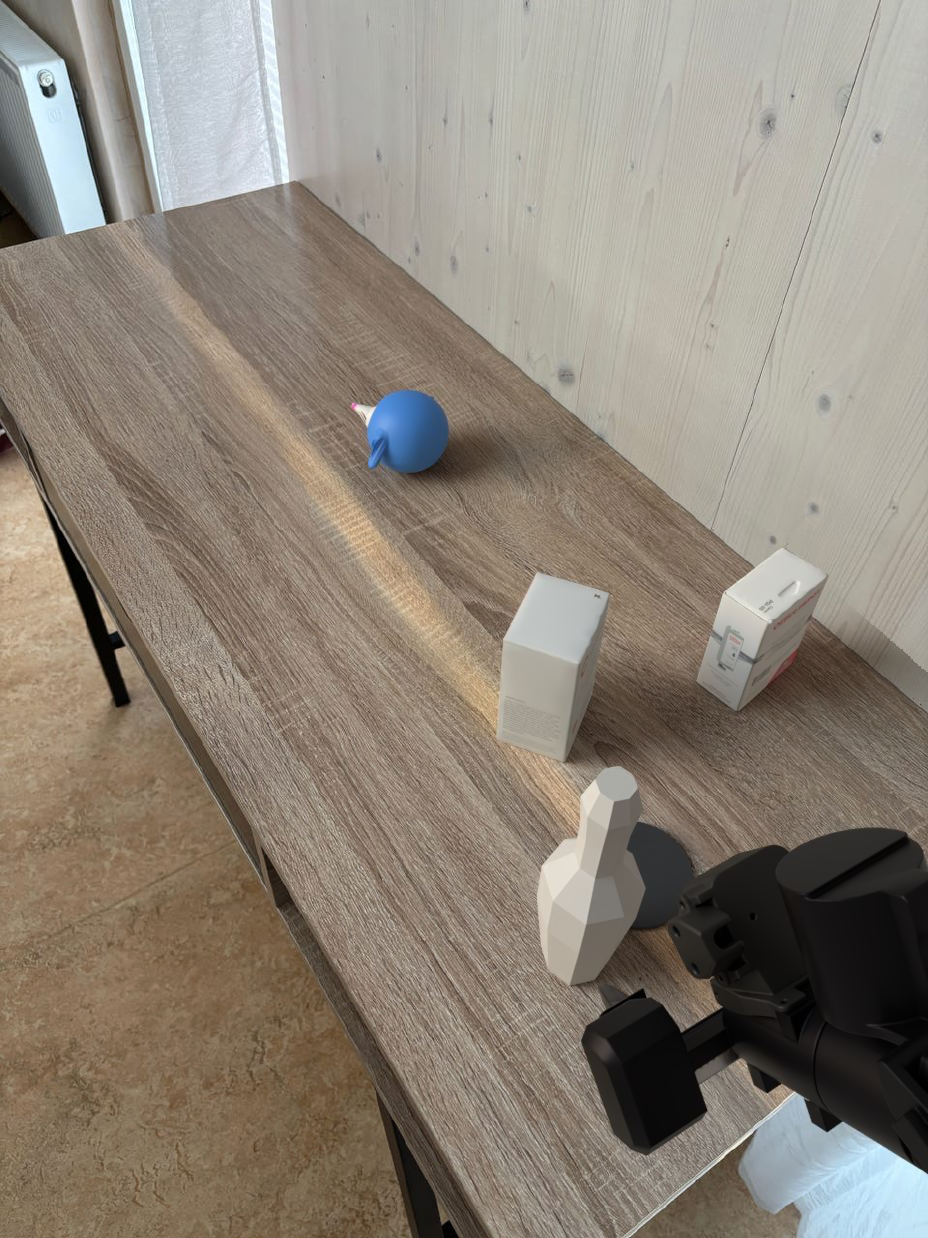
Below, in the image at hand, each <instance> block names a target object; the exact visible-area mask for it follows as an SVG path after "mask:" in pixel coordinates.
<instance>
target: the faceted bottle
mask: <svg viewBox="0 0 928 1238" xmlns="http://www.w3.org/2000/svg"><path fill="white" fill-rule="evenodd" d="M641 797H642V796H641V794H640V789H639V786H638V784H637V780H636V779H635V776H634V774H633V773H631V772H630V771H628V770H627V769H625V768H623V767H622V766H620V765H617V766H611V767H605V768H603V769H602V770H601V771H600V772H599V774H598V775H597V776H596V777H595V778H594V780H593V781H592V782H591V783H590V785H589V786H588V787H587V788H586V789H585V790H584V791H583V793H582V794H581V795H580V798H579V799H580V800H579V802H580V803H579V826H578V830H577V836H574V837H569V838H565V839H563V840H562V841H561V843H560V844H559V845H558V846H557V847H556V848H555V849H554V851H552V853H551V854H550V856H549V857H548V858H547V859H546V860H545V861H544V863H543V864H542V865H541V869H540V875H539V881H538V887H537V893H536V902H537V914H538V915H537V916H538V926H539V937H540V947H541V951H542V955H543V957H544V960H545V964H546V967H547V970H548V972H550V973H552V974H553V975H554V976H556V977H557V978H558V979H559V980H561V981H562V982H563V983H565V984H566V985H567V986H568V987H571V986H576V985H580V984H584V983H588V982H589V983H590V982H594V981H595V980H596V979H597V977H598V976H599V975H600V974H601V972H602V971H603V969H604V968H605V966H606V965H607V964H608V963H609V961H610V960H611V958H612V956H613V955H614V953H615V951H616V950H617V948H618V947H619V945H620V944H621V943H622V941H623V939H624V938H625V936H626V934H627V933H628V931H629V930H630V929H629V928H630V927H631V925H632V924H633V922H634V920H635V919H636V916H637V913H638V910H639V907H640V904H641V901H642V898H643V895H644V892H645V889H646V888H645V885H644V883H643V880H642V877H641V875H640V872H639V869H638V867H637V864H636V862H635V859H634V856H633V854H632V853H630V852H629V851H628V850H627V846H628V842H629V839H630V836H631V834H632V832H633V830H634V828H635V825H636V823H637V821H638V822H639V820H640V817H641V815H642V813H643V811H644V805H643V801H642V798H641Z"/></svg>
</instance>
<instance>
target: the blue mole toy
mask: <svg viewBox="0 0 928 1238" xmlns="http://www.w3.org/2000/svg"><path fill="white" fill-rule="evenodd" d="M350 407H351V410H352V411H354V412H356V413H357V414H358V416H359V417H360V418H361V420H362V422H363V424H365V427H366V437H367V441H368V446H369V448H370V455H369V458H368V462H367V466H368V469H370V470H374V469H376V468H377V467H378V466H379V464H380V463H381V464H382V465H383V466H385V467H386V468H388V469H389V470H391V471H394V472H398V473H403V474H414V473H415V474H416V473H420V472H422V471H425V470H428V469H429V468H431V467H432V466H433V465H435V464H436V463H437V462H438V461H439V460H440V458H441V457H442V455H443V454H444V452H445V451H446V448H447V445H448V441H449V438H450V437H449V436H450V425H449V421H448V417H447V414H446V412H445V411H444V409H443V407H442V406H441V405H440V404H439V403H438V401H436V400H435V398H434V396H432V395H429V394H427V393H425V392H422V391H419V390H415V389H402V390H396V391H394V392H393V391H392V392H390V393H389V394H387V395H385V396H384V397H383V398H381V399H380V400H379V402H378V403H377V405H375V406H370V405H366V404H361V403H359V402H357V401H356V402H352V403H351V405H350Z"/></svg>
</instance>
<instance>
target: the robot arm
mask: <svg viewBox="0 0 928 1238" xmlns="http://www.w3.org/2000/svg"><path fill="white" fill-rule="evenodd" d="M693 877H694V878H692V879H691V880H689V881H688V882H687V884H686V885H685V887H684V890H683V893H681V894H680V895H678V896H676V902H677V905H678V907H679V913H678V915H677V916H676V917H674V918H672V919H670V920H669V921H668V923H667V924H666V927H667V929H666V930H667V933H668V935H669V937H670V940H671V941H672V943H673V945H674V947H675V949H676V951H677V953H678V955H679V957H680V959H681V960H682V963H683V965H684V967H685V969H686V970H687V972H688V974H690V975H691V976H692V977H693V978H695V979H697V980H709V984H710V988H711V990H712V993H713V996H714V999H715V1002H716V1004H718V1005H719V1006H720V1007H719V1008H718V1009H716V1010H715V1011H713V1012H712V1013H710V1014H708V1015H707V1016H705V1017H704V1018H702V1019H701V1020H699V1021H697V1022H696V1023H694V1024H692V1025H690V1026H689V1027H687V1028H686V1029H684V1030H683V1031H682V1030H681V1028H680V1027H679V1025H678V1024H677V1022H676V1021H675V1020H674V1018H673V1017H672V1015H671V1014H670V1013H669V1011H668V1010H667V1008H666V1006H665V1005H664V1004H663V1003H661V1002H659V1001H658V1000H657V999H655V998H653V997H648V996H647V993H646V991H645V988H643V987H642V988H639V989H638V990H636V991H634V992H632V993H631V994H629V995H628V994H627V993H626V992H624V991H622V989H619V988H618V987H617V986H615V985H614V984H613V985H612V984H610V983H607V982H601V983H599V984H597V990H598V993H599V995H600V997H601V1001H602V1003H603V1006H604V1007H605V1009H604V1010H603V1011H602V1012H601V1013H600V1014H599V1016H598V1018H596V1019H595V1020H593V1021H592V1022H591V1021H590V1022H589V1023H588V1024H587V1025H585V1029H584V1031H583V1034H582V1037H581V1040H580V1044H581V1047H582V1049H583V1052H584V1055H585V1057H586V1061H587V1063H588V1066H589V1068H590V1071H591V1074H592V1077H593V1080H594V1083H595V1085H596V1089H597V1091H598V1094H599V1097H600V1100H601V1103H602V1105H603V1108H604V1110H605V1113H606V1116H607V1119H608V1122H609V1125H610V1128H611V1130H612V1133H613V1135H614V1136H615V1137H616V1138H617V1139H618V1140H620V1142H622V1143H623V1144H624V1145H625V1146H626V1147H628V1149H630V1150H631V1151H633V1152H635V1153H638V1154H641V1155H644V1156H646V1157H647V1156H649V1155H650V1154H652V1153H654V1152H655V1151H656V1150H659V1148H661V1147H663V1146H664V1145H666V1144H667V1143H669V1142H670V1141H671V1140H673V1139H674V1138H676V1137H677V1136H679V1135H680V1134H683V1133H684V1132H685V1131H687V1130H688V1129H689V1128H691V1127H693V1126H694V1125H696V1124H698V1123H699V1122H700V1121H702V1120H703V1119H704V1117H705V1116H706V1114H707V1113H708V1111H709V1109H708V1106H707V1104H706V1101H705V1098H704V1096H703V1092H702V1090H701V1086H700V1085H702V1084H703V1083H704V1082H707V1081H708V1080H709V1079H711V1078H713V1077H714V1076H715V1075H717V1074H719V1073H720V1072H721V1071H723V1070H725V1069H726V1068H728V1067H729V1066H731V1065H732V1064H734V1063H735V1062H737V1061H739V1060H740V1059H742V1060H743V1061H745V1063H746V1066H747V1069H748V1072H749V1075H750V1078H751V1082H752V1085H753V1086H754V1087H756V1088H757V1089H759V1090H760V1091H762V1092H764V1093H765V1094H770V1093H771V1092H772V1091H773V1090H775V1089H776V1088H778V1087H780V1086H781V1085H783V1086H784V1087H787V1088H788V1089H790V1090H791V1091H792V1092H794V1093H796V1094H798V1095H799V1096H801V1097H802V1098H803V1101H804V1104H805V1107H806V1110H807V1113H808V1117H809V1120H810V1122H811V1124H813V1125H814V1126H816V1127H818V1128H819V1129H821V1130H822V1131H824V1132H825V1133H829V1132H830V1131H832V1130H833V1129H835V1128H836V1127H837V1126H839V1125H840V1124H841V1123H844V1124H845V1125H847V1126H849V1127H850V1128H853V1129H854V1130H855V1131H856V1132H857V1131H858V1132H859V1133H860V1134H862V1135H864V1136H865V1137H867V1138H868V1139H870V1140H872V1141H873V1142H875V1143H877V1144H878V1145H880V1146H881V1147H883V1148H884V1149H887V1150H888V1151H890V1152H891V1153H893V1154H894V1155H896V1156H897V1157H899V1158H901V1159H902V1160H904V1161H905V1162H907V1163H908V1164H910V1165H912V1166H914V1167H915V1168H916V1169H919V1170H921V1172H923V1173H925V1174H926V1175H928V862H927V859H926V855H925V851H924V849H923V847H922V846H921V844H919V842H918V841H916V840H914V839H913V838H911V837H909V834H908V833H907V832H906V831H904V830H900V829H897V828H888V827H881V826H880V827H879V826H878V827H873V826H872V827H871V826H867V827H859V828H858V827H857V828H849V829H844V830H839V831H833V832H831V833H826V834H824V835H820V836H817V837H815V838H812V839H810V840H808V841H806V842H803V843H801V844H799V845H797V846H796V847H794V848H793V849H791V850H790V851H789V850H788V849H787V848H785V847H784V846H782V845H779V844H768V845H765V846H762V847H757V848H754V849H749V850H746V851H741V852H738V853H736V854H734V855H732V856H730V857H729V858H728V859H725V860H724V861H722V862H720V863H719V864H716V865H715V866H713V867H712V868H709V869H708V870H706V871H704V872H703V873H702V872H701V873H700V874H698V875H696V876H693Z"/></svg>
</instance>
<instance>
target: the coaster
mask: <svg viewBox="0 0 928 1238" xmlns="http://www.w3.org/2000/svg"><path fill="white" fill-rule="evenodd" d="M627 850H628V851H629V852H630V853H632V854H633V856H634V859H635V862H636V864H637V867H638V869H639V872H640V875H641V877H642V880H643V883H644V885H645V888H646V889H645V892H644V895H643V898H642V901H641V904H640V907H639V910H638V913H637V916H636V919H635V920H634V922H633V924H632V925H631V927H630V928H629V930H637V931H639V930H640V931H643V930H644V931H645V930H653V929H657V928H660V927H664V926H667V923H668V921H669V920H670V919H672V918H674V917H676V916H677V915H678V913H679V907H678V905H677V902H676V896H678V895H680V894H681V893H683V890H684V887H685V885H686V884H687V882H688V881H689V880H691V879H692V878H694V877H695V876H694V871H693V866H692V864H691V861H690V858H689V856H688V855H687V853H686V852H685V850H684V849H683V847H682V845H680V844H679V842H678V841H677V840H675V838H673V836H671V835H670V834H669V833H667V832H666V831H664V830H662V829H661V828H659V827H657V826H655V825H652V824H650V823H646V822H643V821H639V820H638V821H637V823H636V825H635V828H634V830H633V832H632V834H631V836H630V839H629V842H628V846H627Z"/></svg>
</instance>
